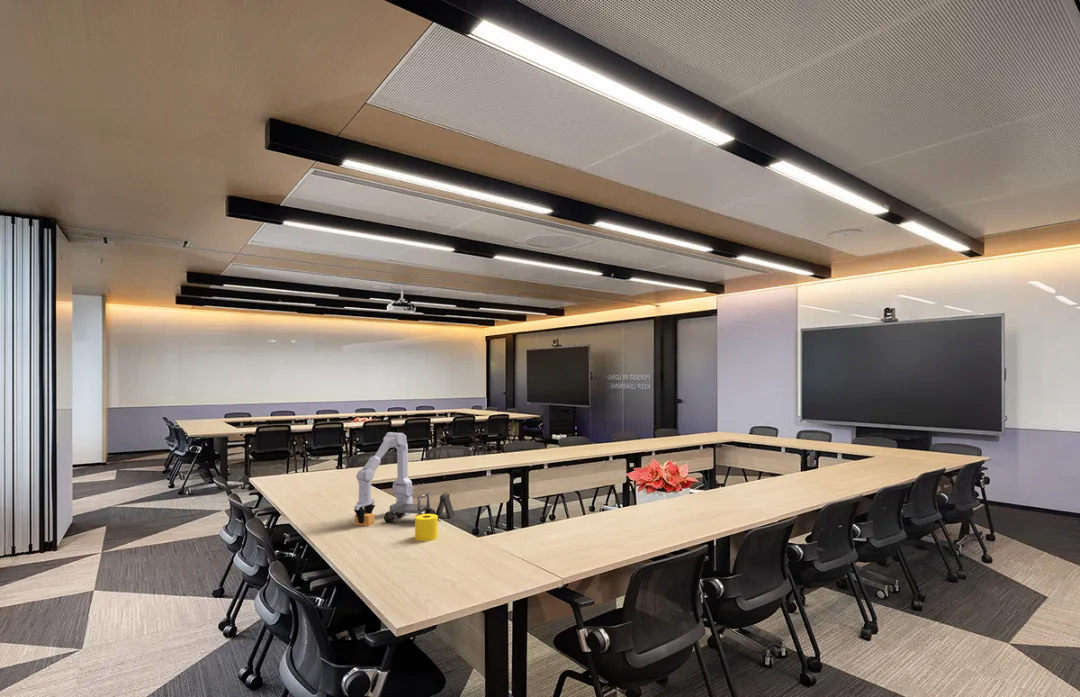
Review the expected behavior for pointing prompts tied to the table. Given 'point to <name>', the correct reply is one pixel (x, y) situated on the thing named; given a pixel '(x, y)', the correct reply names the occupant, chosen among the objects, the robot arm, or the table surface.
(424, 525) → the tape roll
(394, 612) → the table surface
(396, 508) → the trolley
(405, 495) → the robot arm
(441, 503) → the grey a-frame stand
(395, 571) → the table surface
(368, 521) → the orange rectangular block
